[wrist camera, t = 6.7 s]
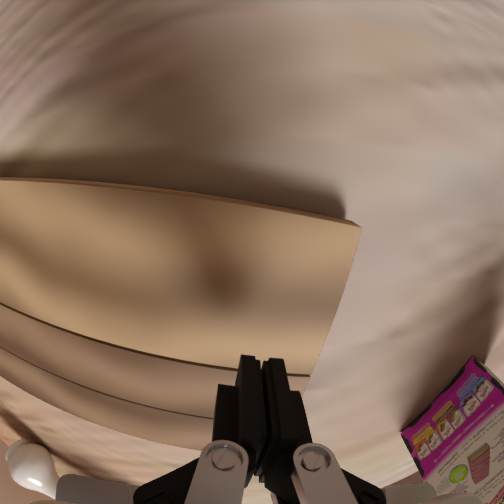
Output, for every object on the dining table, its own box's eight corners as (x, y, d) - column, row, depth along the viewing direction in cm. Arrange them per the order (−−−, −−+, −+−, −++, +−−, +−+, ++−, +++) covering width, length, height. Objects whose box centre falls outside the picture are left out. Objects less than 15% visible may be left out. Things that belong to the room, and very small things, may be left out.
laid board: (-21, 282, 14) (-31, 289, 13) (305, 362, 16) (310, 378, 15) (6, 367, 17) (-2, 375, 15) (272, 443, 19) (273, 457, 18)
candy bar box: (420, 434, 21) (468, 533, 5) (398, 433, 20) (448, 548, 5) (487, 363, 18) (562, 454, 3) (472, 353, 18) (561, 461, 2)
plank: (-32, 177, 11) (-44, 180, 10) (351, 220, 13) (362, 227, 12) (-22, 279, 14) (-31, 286, 13) (307, 359, 16) (311, 374, 15)
